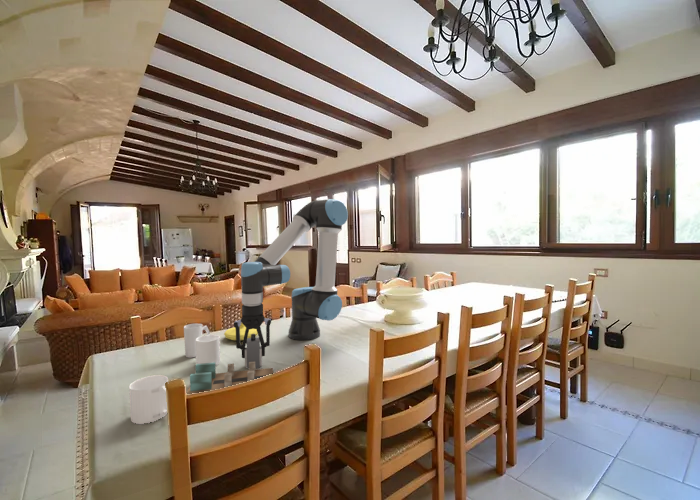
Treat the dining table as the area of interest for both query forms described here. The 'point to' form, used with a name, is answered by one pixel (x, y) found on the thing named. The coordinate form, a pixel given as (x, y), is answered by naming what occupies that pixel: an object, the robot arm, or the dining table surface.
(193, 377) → the board
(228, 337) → the yellow pattypan squash
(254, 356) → the block
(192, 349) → the mug
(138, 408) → the mug
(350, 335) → the dining table surface
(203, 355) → the cup
